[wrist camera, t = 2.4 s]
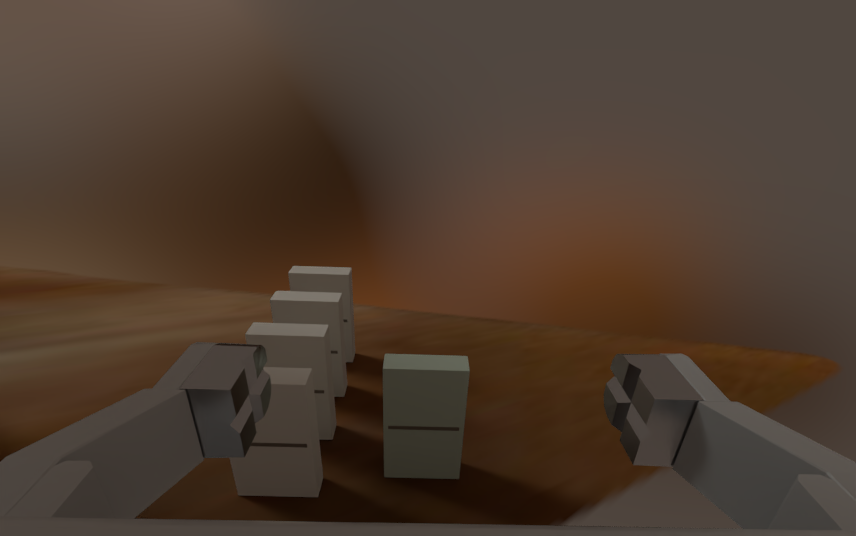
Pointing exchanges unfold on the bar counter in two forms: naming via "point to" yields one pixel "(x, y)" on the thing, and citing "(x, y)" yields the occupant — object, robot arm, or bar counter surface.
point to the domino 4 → (424, 415)
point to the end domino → (333, 283)
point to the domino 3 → (284, 441)
